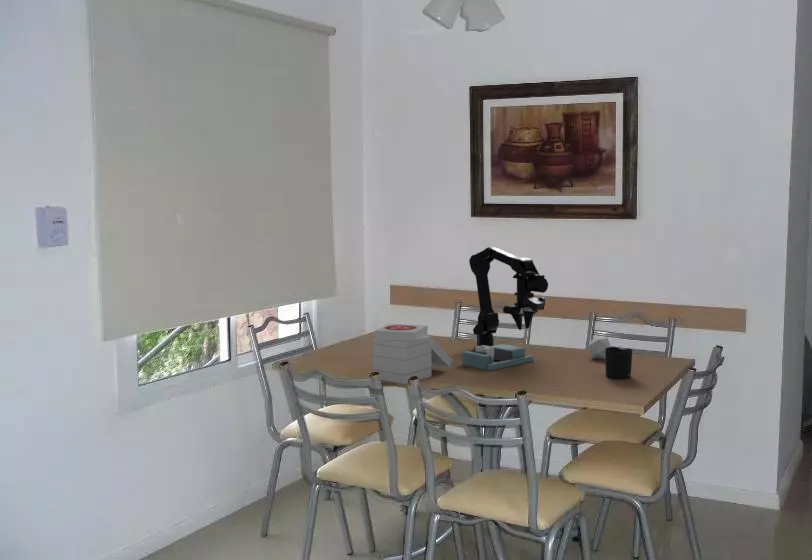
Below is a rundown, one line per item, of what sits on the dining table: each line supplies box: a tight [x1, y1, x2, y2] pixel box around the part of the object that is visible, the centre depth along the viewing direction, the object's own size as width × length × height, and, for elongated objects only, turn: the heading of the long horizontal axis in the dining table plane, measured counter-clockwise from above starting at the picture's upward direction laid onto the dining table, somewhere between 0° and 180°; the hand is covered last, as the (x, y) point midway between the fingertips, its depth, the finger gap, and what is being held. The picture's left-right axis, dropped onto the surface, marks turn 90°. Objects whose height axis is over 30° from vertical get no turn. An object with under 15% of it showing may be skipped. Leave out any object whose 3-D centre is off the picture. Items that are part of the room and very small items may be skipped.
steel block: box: [474, 345, 495, 364], centre depth 343 cm, size 6×4×7 cm, turn 42°
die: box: [587, 336, 612, 360], centre depth 353 cm, size 8×9×10 cm
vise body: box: [462, 350, 534, 371], centre depth 346 cm, size 14×24×5 cm, turn 132°
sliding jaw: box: [490, 343, 526, 362], centre depth 351 cm, size 12×8×5 cm, turn 42°
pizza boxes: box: [372, 323, 454, 385], centre depth 327 cm, size 19×30×18 cm, turn 141°
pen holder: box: [604, 346, 633, 380], centre depth 321 cm, size 9×9×10 cm
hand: (523, 329), depth 357 cm, fingers open, 4 cm apart
